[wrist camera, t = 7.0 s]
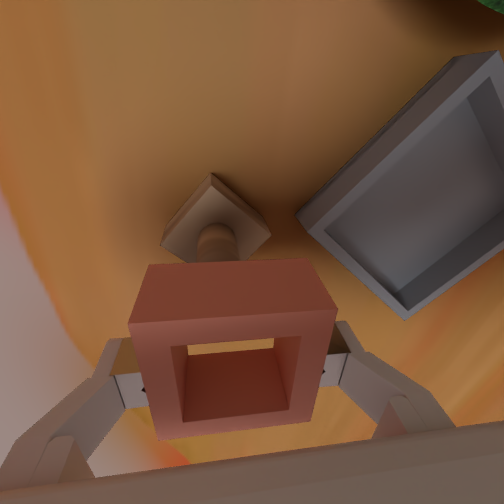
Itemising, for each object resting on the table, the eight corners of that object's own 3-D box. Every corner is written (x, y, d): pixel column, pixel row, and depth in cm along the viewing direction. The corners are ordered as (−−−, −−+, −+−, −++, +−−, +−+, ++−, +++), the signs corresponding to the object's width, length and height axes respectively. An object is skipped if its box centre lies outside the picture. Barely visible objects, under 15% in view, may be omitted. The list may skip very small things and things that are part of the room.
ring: (306, 258, 11) (338, 309, 8) (291, 360, 14) (310, 421, 11) (148, 264, 10) (127, 323, 7) (168, 371, 13) (158, 440, 10)
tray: (518, 196, 23) (558, 209, 20) (385, 299, 26) (404, 320, 24) (453, 57, 17) (498, 50, 14) (294, 214, 20) (307, 231, 18)
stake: (263, 217, 20) (287, 268, 14) (219, 262, 22) (225, 326, 16) (210, 172, 18) (212, 210, 12) (166, 225, 19) (148, 283, 13)
